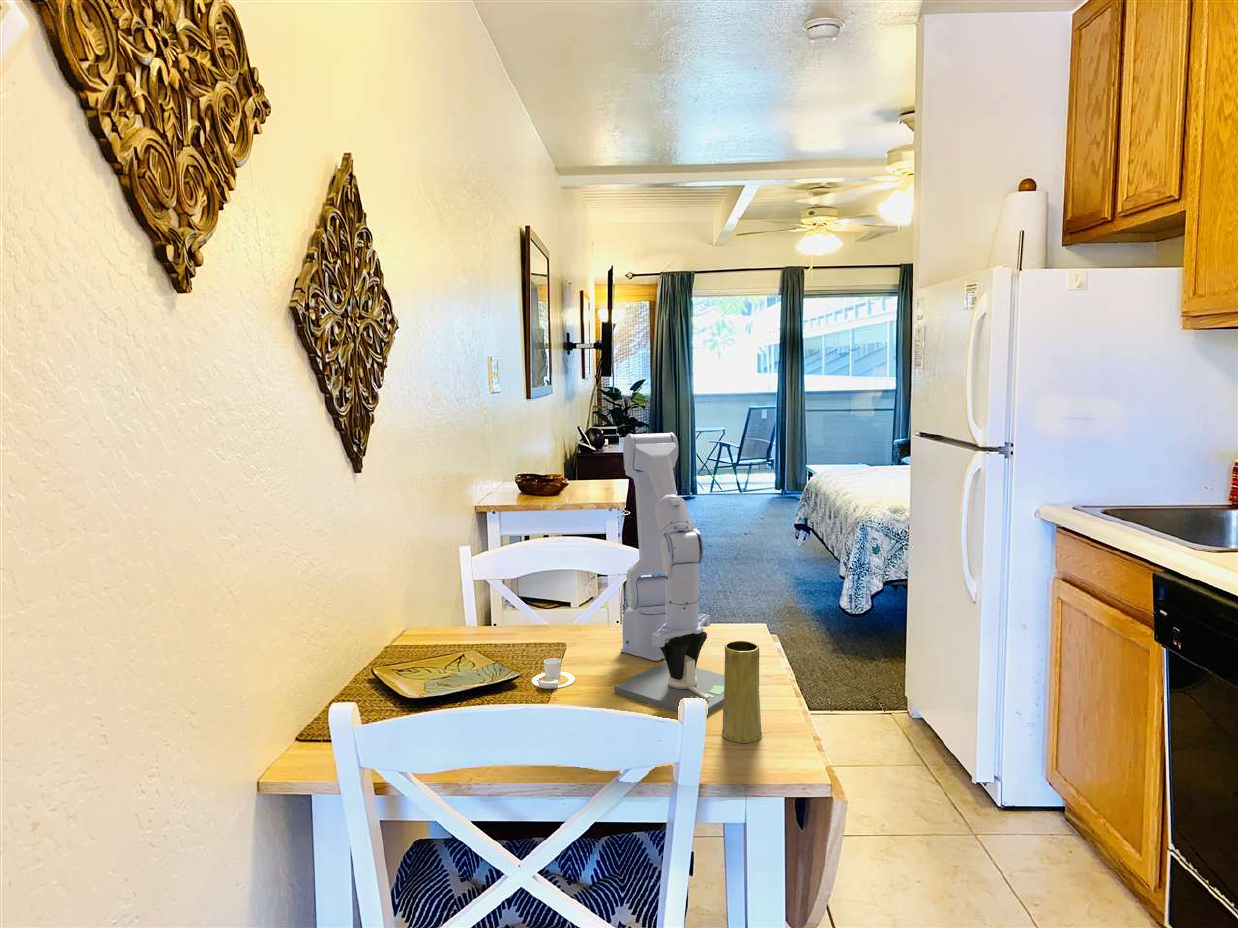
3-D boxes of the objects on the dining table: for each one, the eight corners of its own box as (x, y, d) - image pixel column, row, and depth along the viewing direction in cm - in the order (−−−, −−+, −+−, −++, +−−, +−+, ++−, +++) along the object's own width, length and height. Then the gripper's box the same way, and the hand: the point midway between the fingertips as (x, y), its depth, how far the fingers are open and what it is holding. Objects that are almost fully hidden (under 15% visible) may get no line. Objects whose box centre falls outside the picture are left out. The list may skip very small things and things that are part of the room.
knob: (662, 680, 141) (662, 653, 141) (686, 675, 144) (686, 648, 143) (695, 702, 132) (694, 673, 131) (720, 696, 134) (720, 668, 133)
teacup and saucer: (552, 695, 140) (551, 673, 140) (519, 685, 145) (518, 664, 144) (583, 680, 147) (583, 658, 146) (551, 670, 152) (551, 650, 151)
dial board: (614, 692, 140) (614, 685, 140) (669, 666, 152) (669, 659, 152) (698, 720, 128) (698, 712, 128) (750, 689, 140) (750, 682, 140)
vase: (752, 747, 119) (752, 655, 117) (715, 737, 122) (714, 648, 121) (767, 731, 124) (768, 643, 122) (731, 722, 127) (731, 636, 126)
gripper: (675, 614, 130) (676, 693, 132) (724, 594, 141) (724, 668, 143) (642, 606, 135) (643, 683, 136) (691, 587, 146) (692, 659, 147)
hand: (682, 675), depth 140 cm, fingers closed on knob, 3 cm apart
